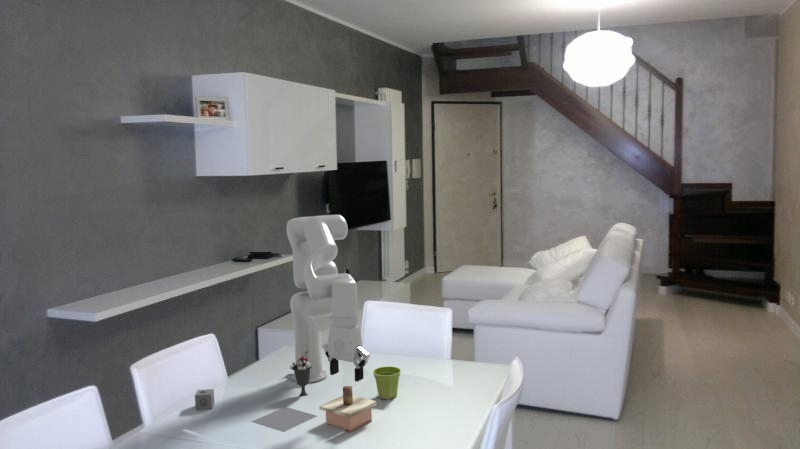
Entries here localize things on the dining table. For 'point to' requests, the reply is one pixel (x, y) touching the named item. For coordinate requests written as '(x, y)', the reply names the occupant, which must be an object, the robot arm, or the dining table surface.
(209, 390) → the dice cube
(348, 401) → the wooden lid with knob
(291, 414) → the mat
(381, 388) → the plant pot
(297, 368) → the sundae
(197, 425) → the dining table surface
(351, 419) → the salmon pink open box
